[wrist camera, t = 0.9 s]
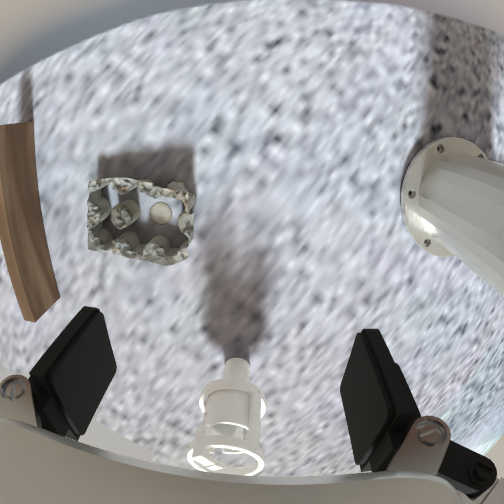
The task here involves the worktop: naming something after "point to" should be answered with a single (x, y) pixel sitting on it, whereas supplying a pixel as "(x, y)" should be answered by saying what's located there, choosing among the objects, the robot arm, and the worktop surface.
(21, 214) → the walnut board
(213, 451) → the white plastic bottle
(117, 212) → the egg carton
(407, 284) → the worktop surface
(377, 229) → the worktop surface
